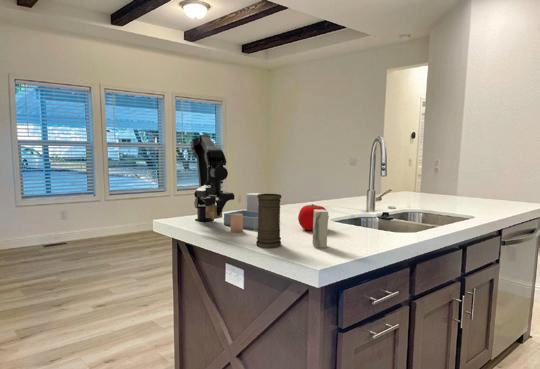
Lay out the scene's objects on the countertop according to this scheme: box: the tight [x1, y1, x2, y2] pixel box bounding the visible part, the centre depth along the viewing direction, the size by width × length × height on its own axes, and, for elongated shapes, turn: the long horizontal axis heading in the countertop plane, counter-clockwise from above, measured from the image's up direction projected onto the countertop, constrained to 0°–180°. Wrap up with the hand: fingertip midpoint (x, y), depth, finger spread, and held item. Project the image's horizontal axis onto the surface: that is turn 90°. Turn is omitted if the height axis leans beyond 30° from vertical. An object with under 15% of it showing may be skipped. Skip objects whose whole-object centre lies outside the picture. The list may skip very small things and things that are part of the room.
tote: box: [223, 209, 258, 231], centre depth 169 cm, size 17×13×5 cm
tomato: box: [297, 203, 330, 232], centre depth 161 cm, size 12×13×11 cm
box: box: [311, 209, 329, 249], centre depth 133 cm, size 5×4×13 cm
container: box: [255, 193, 282, 249], centre depth 134 cm, size 9×9×18 cm
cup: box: [245, 192, 262, 212], centre depth 185 cm, size 8×8×12 cm
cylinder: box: [230, 214, 244, 234], centre depth 155 cm, size 5×5×7 cm
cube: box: [206, 204, 223, 220], centre depth 162 cm, size 5×5×5 cm
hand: (214, 215), depth 162 cm, fingers closed on cube, 5 cm apart
